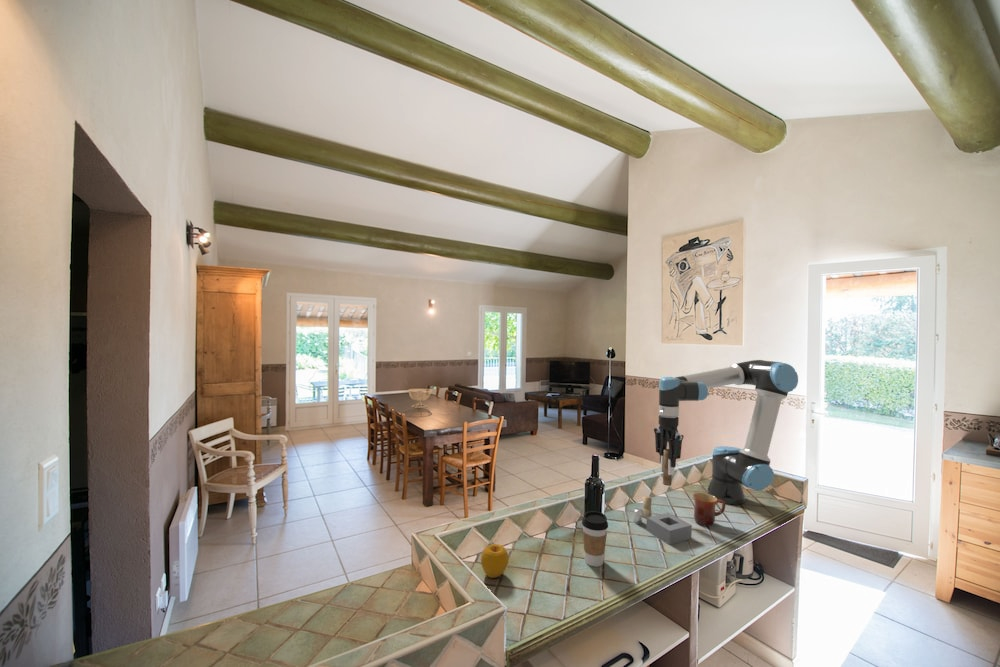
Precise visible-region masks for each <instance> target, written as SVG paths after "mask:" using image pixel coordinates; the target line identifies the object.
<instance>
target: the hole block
mask: <svg viewBox="0 0 1000 667" xmlns="http://www.w3.org/2000/svg"><path fill="white" fill-rule="evenodd" d="M692 530H693V525H692V524H691V523H689V522H686V521H685V520H683V519H682V518H680V517H678V516H675V515H673V514H672V513H670V512H664V513H660V514H656V515H651V517H647V518H646V530H645V531H646V532H648V533H649V534H651V535H653V536H654V537H656V538H657V539H660V540H661V541H662V542H664V543H665V544H668V545H673V544H677V543H681V542H684V541H687V540H690V539H692Z"/></svg>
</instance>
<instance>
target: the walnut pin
mask: <svg viewBox="0 0 1000 667" xmlns="http://www.w3.org/2000/svg"><path fill="white" fill-rule="evenodd" d="M669 458H670V453H669V448H666V449H664V457H663V472H662V484H663V485H664V486H668V487H670V486H672V477H673V476H672V475H668V459H669Z"/></svg>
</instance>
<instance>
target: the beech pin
mask: <svg viewBox="0 0 1000 667" xmlns="http://www.w3.org/2000/svg"><path fill="white" fill-rule="evenodd" d="M652 499H653V498H652V497H651V496H650V495H643V496H642V510H643V516H642V518H645V519H647V517H651V516H652Z"/></svg>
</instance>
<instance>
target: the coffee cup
mask: <svg viewBox="0 0 1000 667" xmlns="http://www.w3.org/2000/svg"><path fill="white" fill-rule="evenodd" d="M581 524H582V537H583V538H582V539H583V540H582V541H583V550H584V551H583V553H584V554H583V555H584V556H583V557H584V562H585V564H586V565H588V566H591V567H597V568H598V567H601V566H603V564H604V558H605V550H606V542H607V534H608V531H607V529H608V528H609V523H608V519H607V516H606V514H604V513H603V512H601V511H597V510H589V511H586V512H585V513H584V514H583V518H582V520H581Z"/></svg>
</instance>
